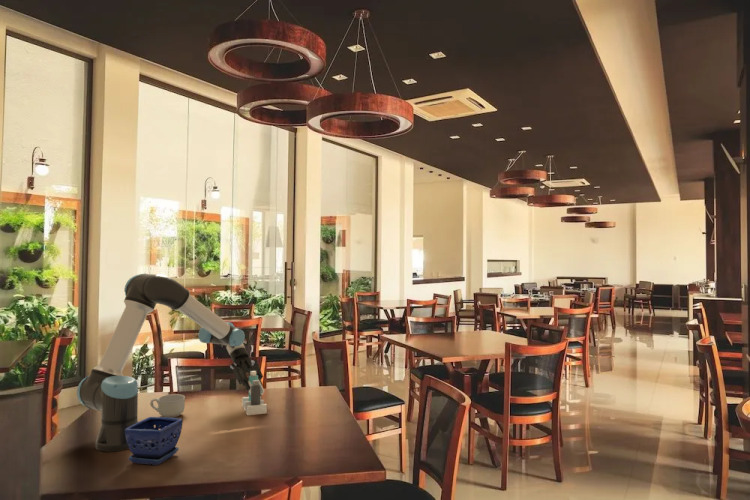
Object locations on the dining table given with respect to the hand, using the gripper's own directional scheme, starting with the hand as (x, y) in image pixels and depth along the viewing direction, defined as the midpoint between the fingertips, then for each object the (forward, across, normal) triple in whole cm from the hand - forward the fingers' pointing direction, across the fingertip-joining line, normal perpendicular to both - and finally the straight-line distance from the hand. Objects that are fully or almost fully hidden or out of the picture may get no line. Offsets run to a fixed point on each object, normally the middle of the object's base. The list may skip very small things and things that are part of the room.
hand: (258, 394), depth 227 cm
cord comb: (+5, +2, -5) cm, 7 cm away
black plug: (+7, +3, -2) cm, 8 cm away
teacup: (-10, +30, -21) cm, 38 cm away
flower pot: (+21, +56, +11) cm, 60 cm away
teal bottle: (0, 0, -5) cm, 5 cm away
